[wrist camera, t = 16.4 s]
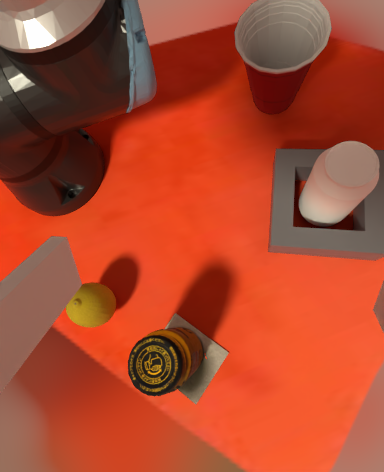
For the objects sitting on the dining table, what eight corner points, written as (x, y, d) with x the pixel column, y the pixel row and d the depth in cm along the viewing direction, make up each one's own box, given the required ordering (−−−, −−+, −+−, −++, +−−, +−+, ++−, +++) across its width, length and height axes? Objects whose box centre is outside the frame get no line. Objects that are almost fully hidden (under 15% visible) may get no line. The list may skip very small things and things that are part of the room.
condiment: (175, 312, 40) (146, 311, 28) (228, 352, 37) (221, 368, 26) (143, 360, 39) (101, 378, 28) (196, 403, 37) (173, 443, 25)
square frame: (268, 252, 40) (270, 245, 36) (273, 163, 43) (276, 148, 39) (375, 260, 37) (390, 254, 33) (372, 165, 40) (385, 150, 36)
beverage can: (288, 212, 41) (304, 172, 29) (313, 177, 41) (339, 124, 30) (329, 237, 39) (365, 205, 27) (355, 200, 39) (400, 153, 28)
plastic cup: (233, 129, 45) (228, 67, 34) (241, 70, 48) (239, -7, 36) (308, 132, 43) (330, 65, 32) (312, 69, 46) (334, -13, 34)
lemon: (81, 315, 42) (44, 315, 34) (100, 279, 43) (68, 271, 35) (113, 333, 41) (82, 337, 33) (132, 296, 41) (106, 291, 34)
